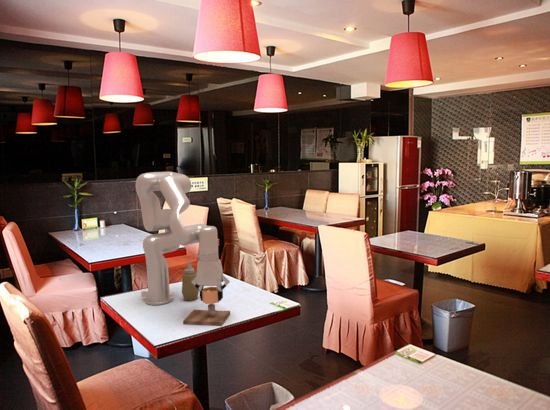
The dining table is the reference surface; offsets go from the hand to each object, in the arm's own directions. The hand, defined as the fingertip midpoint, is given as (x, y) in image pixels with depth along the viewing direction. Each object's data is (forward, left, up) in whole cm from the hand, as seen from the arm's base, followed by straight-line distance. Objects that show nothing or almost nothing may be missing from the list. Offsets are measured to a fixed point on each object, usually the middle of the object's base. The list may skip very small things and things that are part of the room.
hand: (211, 299), depth 169 cm
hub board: (-2, 0, -8) cm, 9 cm away
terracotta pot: (0, 0, -1) cm, 1 cm away
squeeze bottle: (-18, +23, -9) cm, 31 cm away
